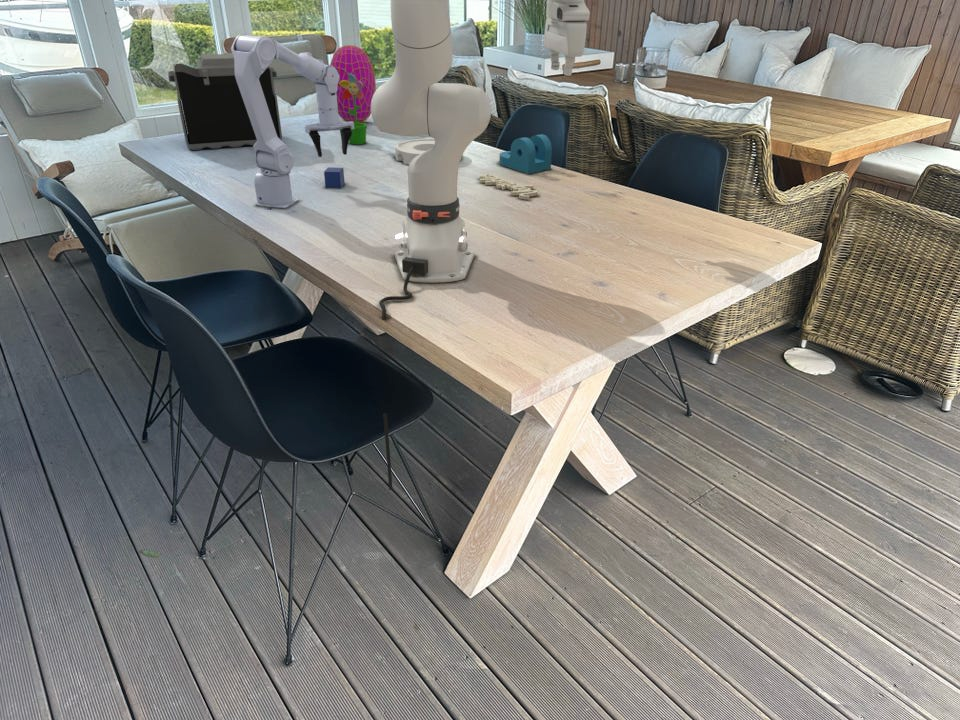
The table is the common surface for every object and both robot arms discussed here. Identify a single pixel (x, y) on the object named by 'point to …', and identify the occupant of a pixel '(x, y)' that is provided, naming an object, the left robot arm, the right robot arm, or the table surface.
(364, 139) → the potted flower
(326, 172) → the block
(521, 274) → the table surface
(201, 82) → the electronic device
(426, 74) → the right robot arm
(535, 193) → the decorative sign
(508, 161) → the teal clevis bracket
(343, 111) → the decorative egg
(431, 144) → the ashtray
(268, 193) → the left robot arm
